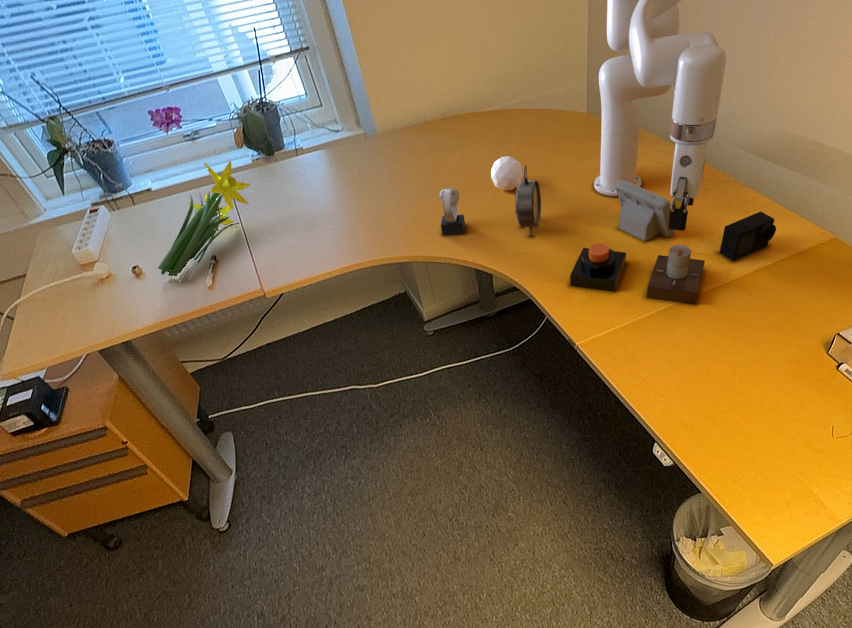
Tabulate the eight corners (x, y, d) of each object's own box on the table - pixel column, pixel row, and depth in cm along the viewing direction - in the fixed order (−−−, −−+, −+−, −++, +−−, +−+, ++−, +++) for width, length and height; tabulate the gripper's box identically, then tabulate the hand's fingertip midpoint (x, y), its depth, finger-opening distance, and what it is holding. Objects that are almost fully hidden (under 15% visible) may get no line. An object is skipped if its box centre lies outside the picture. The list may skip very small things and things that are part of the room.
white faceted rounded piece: (532, 184, 158) (518, 172, 167) (518, 154, 152) (505, 143, 161) (505, 201, 159) (493, 188, 168) (490, 172, 153) (479, 159, 162)
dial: (668, 265, 125) (671, 242, 120) (689, 268, 123) (692, 244, 119) (664, 277, 122) (667, 254, 118) (685, 280, 121) (689, 256, 116)
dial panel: (656, 266, 130) (658, 254, 128) (702, 271, 127) (705, 259, 125) (646, 298, 123) (647, 285, 120) (694, 304, 120) (697, 292, 117)
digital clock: (678, 237, 137) (683, 196, 129) (646, 250, 135) (650, 208, 127) (637, 209, 147) (640, 169, 139) (607, 220, 145) (609, 180, 137)
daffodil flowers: (144, 281, 149) (209, 184, 163) (202, 305, 153) (260, 208, 167) (130, 246, 134) (202, 143, 149) (194, 273, 138) (258, 170, 152)
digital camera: (736, 264, 128) (742, 236, 122) (718, 253, 131) (724, 225, 126) (771, 248, 130) (779, 220, 125) (753, 238, 134) (760, 210, 129)
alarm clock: (536, 239, 143) (532, 176, 131) (515, 239, 144) (509, 177, 132) (542, 216, 150) (539, 155, 138) (522, 216, 151) (517, 155, 139)
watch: (466, 221, 152) (459, 181, 144) (463, 238, 146) (456, 197, 138) (445, 222, 152) (437, 183, 144) (441, 239, 147) (433, 199, 139)
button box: (583, 258, 135) (583, 239, 131) (625, 263, 132) (626, 244, 128) (570, 286, 128) (570, 267, 125) (614, 292, 125) (615, 273, 122)
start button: (591, 250, 129) (591, 242, 127) (611, 253, 127) (611, 244, 126) (586, 261, 126) (586, 253, 125) (606, 264, 125) (606, 256, 123)
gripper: (708, 150, 95) (693, 242, 107) (721, 109, 105) (706, 197, 118) (662, 147, 97) (653, 237, 109) (679, 107, 108) (669, 194, 120)
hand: (680, 216), depth 113 cm, fingers open, 9 cm apart
